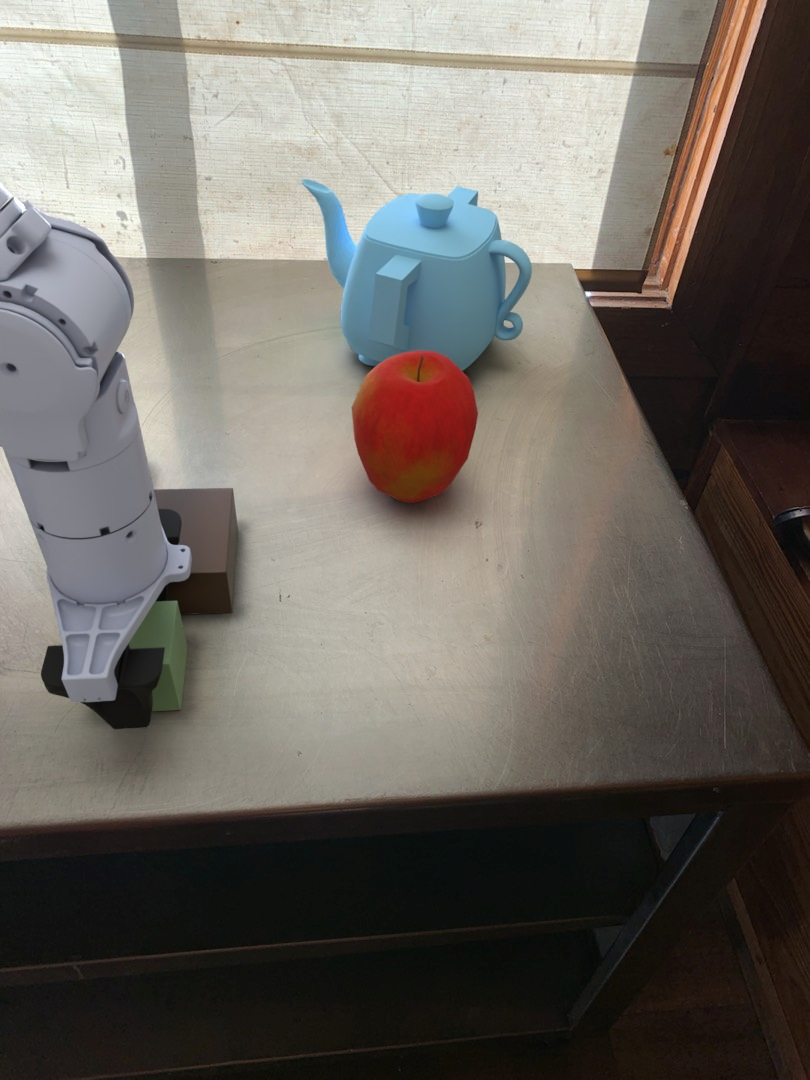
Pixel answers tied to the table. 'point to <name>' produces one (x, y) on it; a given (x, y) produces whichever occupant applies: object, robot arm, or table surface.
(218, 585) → the walnut base
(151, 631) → the green block
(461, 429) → the apple
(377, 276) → the teapot
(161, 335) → the table surface
